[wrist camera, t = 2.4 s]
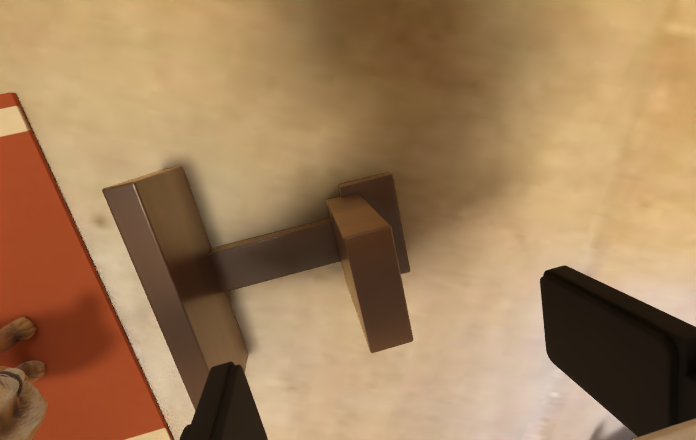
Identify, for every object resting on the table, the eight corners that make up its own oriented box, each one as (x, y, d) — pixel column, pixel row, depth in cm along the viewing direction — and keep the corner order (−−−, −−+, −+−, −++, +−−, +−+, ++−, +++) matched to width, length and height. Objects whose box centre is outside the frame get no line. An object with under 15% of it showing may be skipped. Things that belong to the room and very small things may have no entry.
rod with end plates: (159, 170, 19) (66, 199, 11) (377, 119, 20) (431, 114, 12) (229, 359, 22) (196, 482, 14) (413, 307, 23) (473, 396, 15)
